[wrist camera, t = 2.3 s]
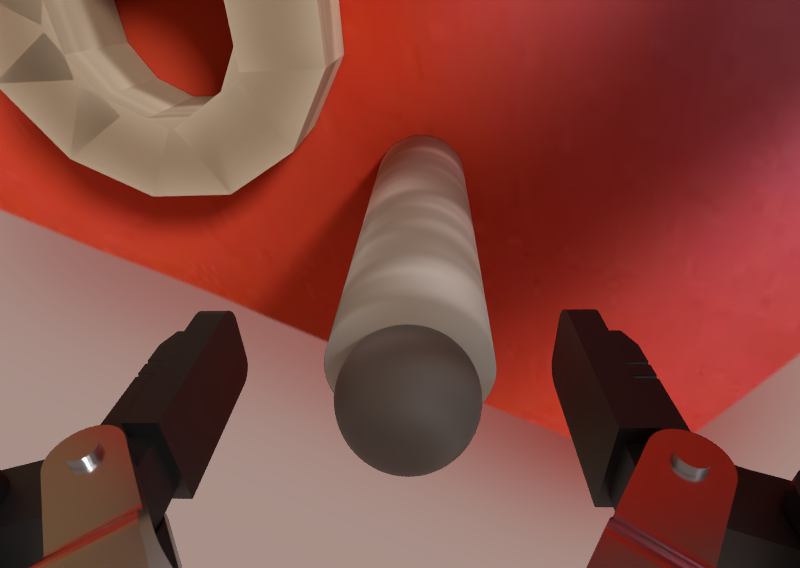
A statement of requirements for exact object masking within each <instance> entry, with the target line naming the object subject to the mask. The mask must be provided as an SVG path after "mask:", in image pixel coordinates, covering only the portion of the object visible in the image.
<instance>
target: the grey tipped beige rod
mask: <svg viewBox="0 0 800 568" xmlns="http://www.w3.org/2000/svg"><path fill="white" fill-rule="evenodd" d="M324 368H325V374H326V378H327V381H328V383H329V385H330V388H331V389H332V391H333V392H334V408H335V415H336V419H337V423H338V426H339V429H340V431H341V433H342V435H343V437H344V439H345V441H346V442H347V444H348V445H349V447H350V448H351V449H352V450H353V451H354V453H355V454H356V455H357V456H358V457H359V458H361V459H362V460H363V461H364V462H366V463H367V464H368V465H370V466H372V467H373V468H375V469H377V470H379V471H382V472H384V473H387V474H391V475H396V476H406V477H410V476H421V475H426V474H429V473H432V472H435V471H437V470H439V469H442V468H443V467H445V466H447V465H448V464H450V463H451V462H452V461H454V460H455V459H456V458H457V457H458V456H459V455H460V454H461V453H462V452H463V451H464V450H465V449H466V447H467V446H468V445H469V443H470V441H471V440H472V438H473V436H474V434H475V433H476V430H477V427H478V424H479V421H480V416H481V410H482V403H483V402H484V401H485V399H486V398H487V397H488V395H489V393H490V392H491V390H492V388H493V385H494V382H495V378H496V359H495V353H494V347H493V341H492V335H491V329H490V323H489V318H488V312H487V306H486V300H485V294H484V288H483V282H482V276H481V271H480V265H479V259H478V253H477V247H476V241H475V235H474V230H473V224H472V218H471V212H470V206H469V200H468V194H467V188H466V183H465V177H464V171H463V166H462V163H461V160H460V158H459V156H458V155H457V153H456V152H455V151H454V150H453V148H452V147H451V146H449V145H448V144H447V143H445V142H444V141H442V140H440V139H438V138H435V137H432V136H426V135H417V136H411V137H407V138H405V139H402V140H400V141H398V142H397V143H396V144H394V145H393V146H392V147H391V148H390V149H389V150H388V151H387V152H386V154H385V155H384V157H383V159H382V161H381V163H380V166H379V170H378V173H377V177H376V180H375V184H374V187H373V190H372V194H371V197H370V201H369V204H368V207H367V211H366V214H365V218H364V221H363V225H362V228H361V231H360V235H359V238H358V242H357V245H356V249H355V252H354V255H353V259H352V262H351V266H350V269H349V272H348V276H347V279H346V283H345V286H344V290H343V293H342V296H341V300H340V303H339V307H338V310H337V313H336V317H335V320H334V324H333V327H332V331H331V334H330V337H329V341H328V344H327V348H326V352H325V358H324Z"/></svg>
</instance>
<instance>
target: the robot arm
mask: <svg viewBox="0 0 800 568" xmlns="http://www.w3.org/2000/svg"><path fill="white" fill-rule="evenodd" d="M247 369H248V363H247V357H246V354H245V350H244V346H243V342H242V339H241V335H240V332H239V328H238V325H237V321H236V318H235V315H234V314H233V312H231V311H200V312H198V313H197V314H196V315H195V317H194V318H193V319H192V321H191V322H190V324H189V325H188V327H187V328H186V330H185V331H183V332H182V331H178V332H176V333H175V334H174V335H172V336H171V337H170V338H168V339H167V340H166V341H164V342H163V343H162V344H160V345H159V346H158V348H157V349H156V351H155V352H154V353H153V354H152V356H151V358H150V359H149V360H148V364H145V365H144V367H143V368H142V369H141V371H140V372H139V373H138V375H139V376H138V377H135V379H134V380H133V382H132V383H131V384H130V386H129V387H128V388H127V390H126V391H125V392H124V394H123V395H122V396H121V398H120V399H119V401H118V402H117V403H116V405H115V406H114V407H113V409H112V410H111V411H110V413H109V414H108V415H107V417H106V418H105V419H104V421H103V422H102V423H101V425H98V426H93V427H89V428H86V429H84V430H81V431H79V432H76V433H74V434H73V435H71V436H69V437H68V438H66V439H64V440H63V441H62V442H60V443H59V444H58V445H57V446H56V447H55V448H54V449H53V450H52V451H51V452H50V453H49V454H48V456H47V457H46V458H45V460H41V461H37V462H33V463H30V464H26V465H21V466H17V467H13V468H9V469H5V470H0V568H182V565H181V561H180V558H179V554H178V551H177V548H176V544H175V541H174V537H173V534H172V530H171V527H170V523H169V519H168V517H167V515H166V513H165V512H166V510H167V507H168V505H169V503H170V501H171V499H172V498H178V499H192V498H193V496H194V494H195V492H196V490H197V488H198V486H199V483H200V481H201V479H202V477H203V474H204V472H205V470H206V468H207V466H208V463H209V461H210V459H211V457H212V454H213V452H214V450H215V448H216V446H217V444H218V441H219V439H220V437H221V435H222V432H223V430H224V428H225V426H226V424H227V421H228V419H229V417H230V415H231V413H232V410H233V408H234V406H235V404H236V401H237V399H238V397H239V395H240V393H241V391H242V388H243V386H244V384H245V381H246V377H247ZM552 376H553V382H554V386H555V389H556V392H557V395H558V398H559V401H560V404H561V407H562V410H563V413H564V416H565V419H566V422H567V425H568V428H569V431H570V434H571V437H572V440H573V443H574V446H575V449H576V452H577V455H578V458H579V461H580V464H581V467H582V470H583V473H584V476H585V479H586V482H587V485H588V488H589V491H590V494H591V497H592V500H593V503H594V506H595V507H614V510H615V513H614V515H613V517H611V518H610V519H609V521H608V523H607V525H606V527H605V529H604V531H603V533H602V535H601V538H600V540H599V542H598V544H597V546H596V548H595V551H594V553H593V555H592V557H591V559H590V561H589V563H588V565H587V568H800V471H798V473H797V474H796V476H795V477H794V479H793V480H792V481H790V480H786V479H782V478H779V477H775V476H771V475H767V474H763V473H759V472H756V471H751V470H748V469H745V468H742V467H738V466H736V465H734V463H733V462H732V460H731V459H730V458H729V456H728V455H727V454H726V453H725V452H724V451H723V450H722V449H721V448H720V447H718V446H717V445H716V444H714V443H713V442H711V441H710V440H708V439H707V438H704V437H703V436H700V435H698V434H696V433H693V432H691V431H690V430H689V428H688V426H687V425H686V423H685V421H684V420H683V418H682V416H681V415H680V413H679V411H678V410H677V408H676V406H675V405H674V403H673V401H672V400H671V398H670V397H669V395H668V393H667V392H666V390H665V388H664V387H663V385H662V383H661V382H660V380H659V379H657V375H656V373H655V372H654V370H653V368H652V367H651V365H648V360H647V359H646V357H645V355H644V354H643V352H642V350H641V349H640V347H639V345H638V344H637V343H635V342H634V341H633V340H632V339H630V338H629V337H628V336H627V335H625V334H624V333H623V332H622V331H609V330H608V328H607V326H606V325H605V323H604V321H603V319H602V317H601V315H600V314H599V312H598V311H597V310H595V309H587V310H563V311H562V312H561V314H560V318H559V324H558V329H557V335H556V341H555V346H554V352H553V358H552Z"/></svg>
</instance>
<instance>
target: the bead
mask: <svg viewBox="0 0 800 568" xmlns="http://www.w3.org/2000/svg"><path fill="white" fill-rule="evenodd" d="M224 4H225V8H226V13H227V18H228V22H229V27H230V32H231V36H232V41H233V46H234V47H233V50H232V54H231V57H230V61H229V64H228V68H227V72H226V75H225V79H224V82H223V86H222V89H221V92H220V93H218V94H217V95H216V96H197V97H194V96H192V95H190V94H188V93H186V92H184V91H182V90H180V89H178V88H176V87H174V86H172V85H170V84H168V83H166V82H164V81H162V80H160V79H158V78H157V77H156V76H155V75H154V74H153V72H152V71H151V70H150V69H149V68H148V66H147V65H146V64H145V63H144V62H143V60H142V59H141V58H140V57H139V56H138V54H137V53H136V52H135V51H134V50H133V48H132V47H131V46H130V45H129V44H128V42H127V39H126V35H125V32H124V29H123V26H122V23H121V20H120V17H119V14H118V11H117V7H116V4H115V1H114V0H0V89H1V90H2V91H3V92H4V93H5V94H6V95H7V96H8V97H9V98H10V99H11V100H12V101H13V102H14V103H15V104H16V105H17V106H18V107H19V108H20V109H21V110H22V111H23V112H24V113H25V114H26V115H27V116H28V117H29V118H30V119H31V120H32V121H33V122H34V123H35V124H36V125H37V126H38V127H39V128H40V129H41V130H42V131H43V132H44V133H45V134H46V135H47V136H48V137H49V138H50V139H51V140H52V141H53V142H54V143H55V144H56V145H57V146H58V147H59V148H60V149H61V150H62V151H63V152H64V153H65V154H66V155H67V156H68V157H69V158H70V159H71V160H73V161H76V162H78V163H80V164H82V165H84V166H87V167H89V168H91V169H93V170H95V171H98V172H100V173H102V174H104V175H106V176H109V177H111V178H113V179H115V180H118V181H120V182H122V183H124V184H126V185H129V186H131V187H133V188H135V189H137V190H140V191H142V192H144V193H146V194H148V195H151V196H153V197H156V196H195V195H231V194H232V193H234V192H235V191H237V190H238V189H240V188H241V187H243V186H244V185H246V184H247V183H248V182H250V181H251V180H253V179H254V178H256V177H257V176H259V175H260V174H262V173H263V172H264V171H266V170H267V169H269V168H270V167H272V166H273V165H275V164H276V163H278V162H279V161H280V160H282V159H283V158H285V157H286V156H288V155H289V154H291V153H292V152H293V151H294V150H295V149H296V148H297V147H298V145H299V144H300V143H301V142H302V141H303V139H304V138H305V137H306V136H307V135H308V133H309V132H310V131H311V130H312V129H313V127H314V126H315V125H316V123H317V120H318V118H319V115H320V113H321V110H322V108H323V105H324V103H325V100H326V98H327V95H328V93H329V90H330V88H331V85H332V83H333V81H334V78H335V76H336V73H337V71H338V68H339V66H340V63H341V61H342V58H343V56H344V47H343V37H342V27H341V17H340V8H339V0H224Z"/></svg>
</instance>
